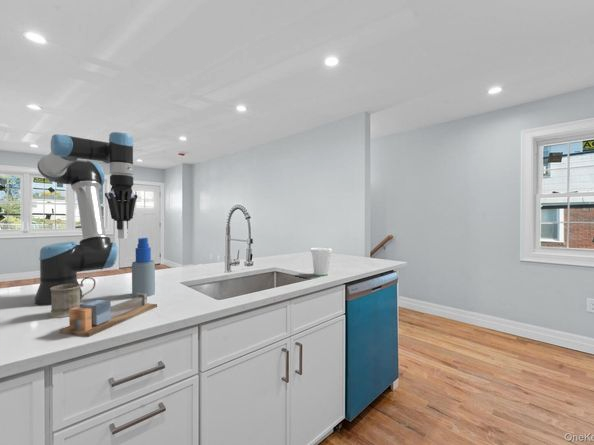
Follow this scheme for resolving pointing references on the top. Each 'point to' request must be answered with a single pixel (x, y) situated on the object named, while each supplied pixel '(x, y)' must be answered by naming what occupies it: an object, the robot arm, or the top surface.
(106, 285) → the top surface
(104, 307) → the slider
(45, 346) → the top surface
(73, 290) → the mug
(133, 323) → the top surface
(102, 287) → the top surface
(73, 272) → the robot arm
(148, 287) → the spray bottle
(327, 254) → the cup
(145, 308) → the rail board
